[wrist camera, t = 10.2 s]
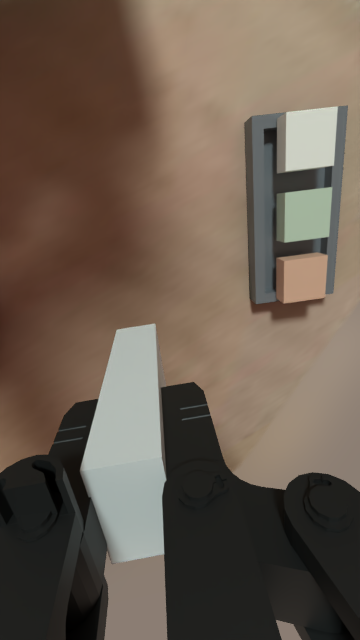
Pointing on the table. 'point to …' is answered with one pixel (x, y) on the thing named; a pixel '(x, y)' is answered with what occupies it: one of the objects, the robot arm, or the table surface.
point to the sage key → (303, 214)
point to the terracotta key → (301, 277)
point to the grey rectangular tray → (263, 204)
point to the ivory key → (306, 139)
